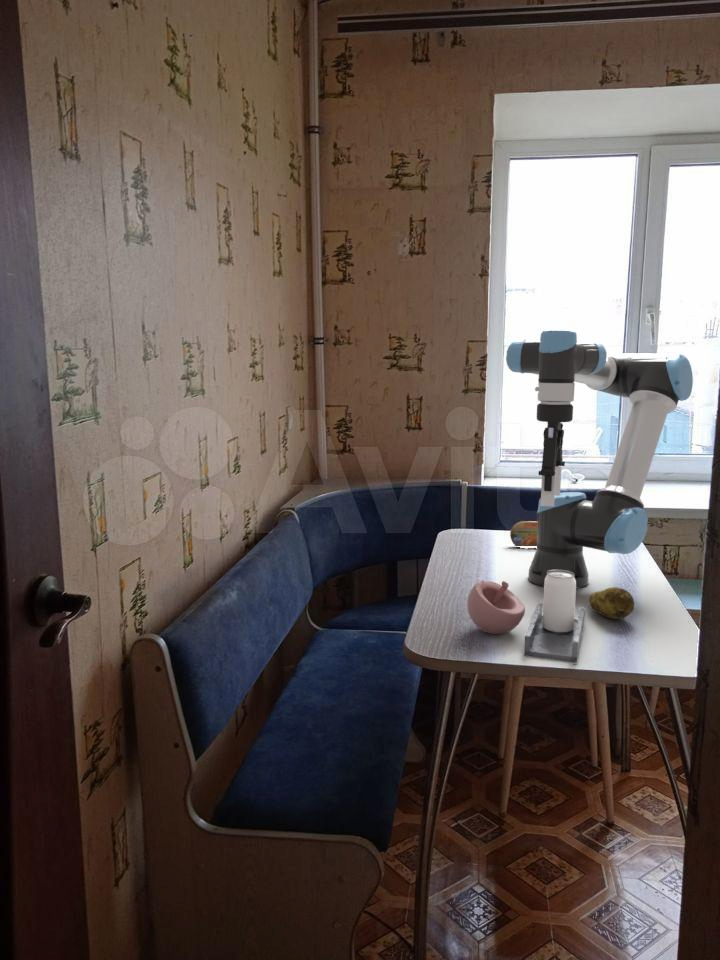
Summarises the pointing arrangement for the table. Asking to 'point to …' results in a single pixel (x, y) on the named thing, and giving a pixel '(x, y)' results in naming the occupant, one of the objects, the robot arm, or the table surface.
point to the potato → (612, 602)
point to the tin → (524, 533)
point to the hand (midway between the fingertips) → (550, 500)
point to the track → (553, 639)
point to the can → (559, 601)
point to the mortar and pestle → (494, 607)
